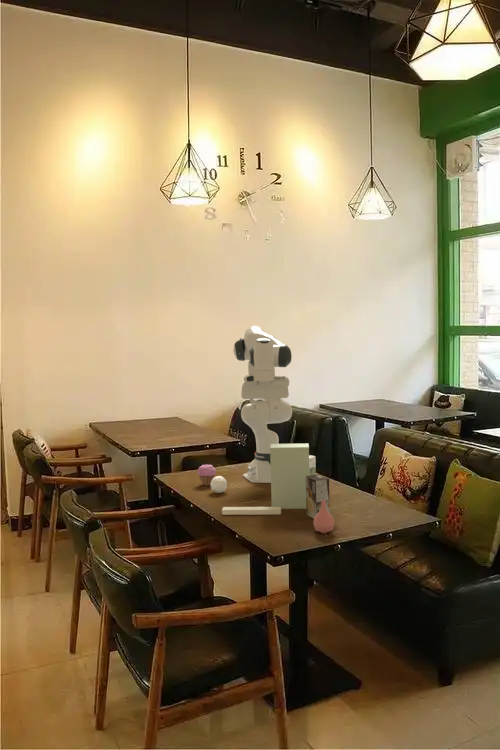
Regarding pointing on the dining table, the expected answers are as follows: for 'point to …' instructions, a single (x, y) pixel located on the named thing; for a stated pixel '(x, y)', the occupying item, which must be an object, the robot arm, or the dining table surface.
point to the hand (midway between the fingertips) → (265, 408)
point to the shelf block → (289, 475)
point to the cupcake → (206, 474)
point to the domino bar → (250, 510)
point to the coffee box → (316, 494)
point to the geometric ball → (218, 484)
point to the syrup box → (312, 465)
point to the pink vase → (323, 520)
